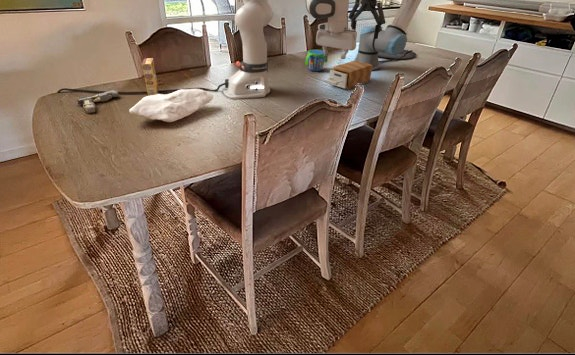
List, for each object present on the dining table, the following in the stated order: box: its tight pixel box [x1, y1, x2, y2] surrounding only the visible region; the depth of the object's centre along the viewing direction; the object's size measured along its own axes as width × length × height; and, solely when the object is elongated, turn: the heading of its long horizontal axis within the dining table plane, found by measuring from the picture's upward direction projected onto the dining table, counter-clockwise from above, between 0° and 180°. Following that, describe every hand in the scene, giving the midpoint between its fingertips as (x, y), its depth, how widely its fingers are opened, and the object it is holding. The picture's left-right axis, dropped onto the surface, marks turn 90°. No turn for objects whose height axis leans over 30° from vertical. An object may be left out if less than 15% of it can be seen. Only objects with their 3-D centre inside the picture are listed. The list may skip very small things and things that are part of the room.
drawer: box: [323, 69, 349, 89], centre depth 186 cm, size 24×10×7 cm, turn 136°
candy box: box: [141, 57, 160, 96], centre depth 163 cm, size 9×4×15 cm, turn 13°
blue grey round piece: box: [378, 49, 417, 60], centre depth 248 cm, size 35×35×9 cm
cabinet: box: [332, 60, 373, 90], centre depth 190 cm, size 19×11×9 cm, turn 136°
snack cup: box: [304, 49, 328, 72], centre depth 207 cm, size 16×10×10 cm
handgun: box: [76, 89, 120, 114], centre depth 155 cm, size 3×18×15 cm
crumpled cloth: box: [129, 88, 214, 123], centre depth 147 cm, size 24×35×9 cm
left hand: (334, 57), depth 175 cm, fingers open, 8 cm apart
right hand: (363, 36), depth 184 cm, fingers open, 13 cm apart
